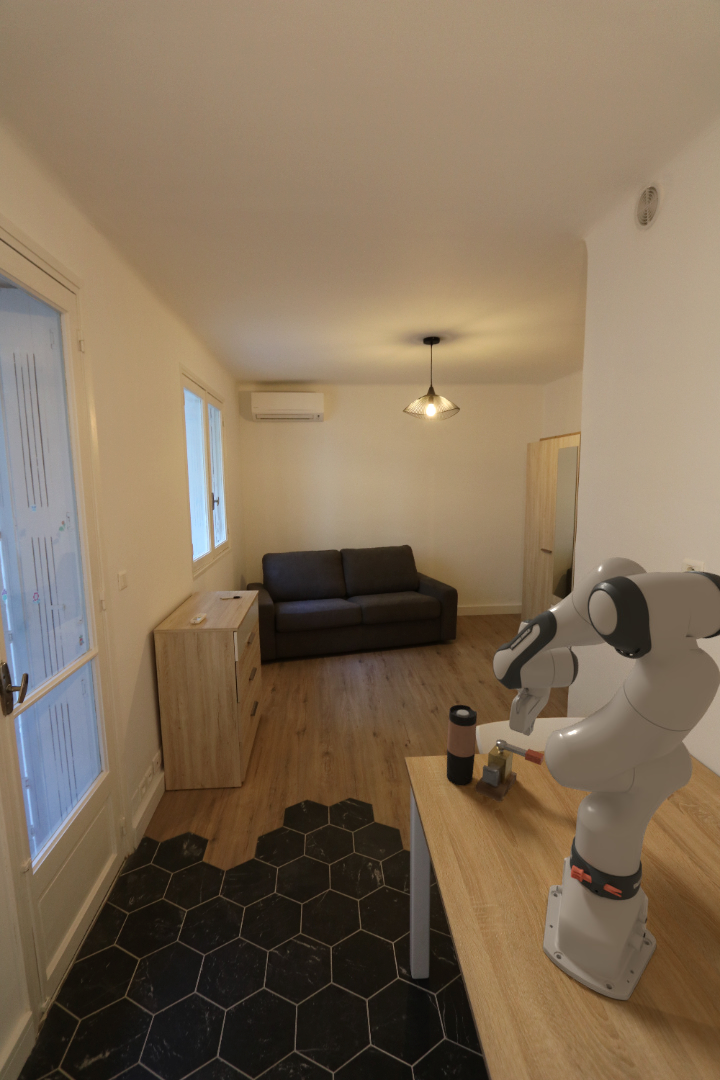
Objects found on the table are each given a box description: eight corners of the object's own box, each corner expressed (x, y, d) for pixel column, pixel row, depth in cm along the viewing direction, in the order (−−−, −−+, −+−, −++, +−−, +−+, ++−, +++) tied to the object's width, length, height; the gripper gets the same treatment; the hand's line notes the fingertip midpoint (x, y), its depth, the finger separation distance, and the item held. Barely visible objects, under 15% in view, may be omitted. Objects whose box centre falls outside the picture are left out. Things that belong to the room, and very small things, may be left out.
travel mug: (444, 783, 133) (447, 715, 130) (447, 767, 140) (450, 702, 137) (472, 788, 131) (476, 720, 128) (474, 772, 138) (478, 707, 135)
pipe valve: (497, 792, 126) (499, 764, 125) (479, 785, 129) (481, 757, 128) (512, 772, 135) (514, 746, 134) (495, 765, 138) (497, 740, 137)
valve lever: (494, 748, 132) (494, 742, 132) (498, 743, 134) (498, 737, 134) (540, 765, 125) (540, 758, 124) (543, 760, 127) (544, 754, 127)
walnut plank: (500, 802, 125) (500, 795, 125) (475, 791, 130) (475, 784, 129) (516, 779, 135) (516, 773, 135) (492, 770, 139) (492, 763, 139)
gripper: (531, 701, 109) (526, 756, 112) (556, 671, 126) (552, 720, 128) (504, 692, 113) (500, 746, 115) (532, 665, 129) (528, 713, 132)
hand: (527, 732), depth 122 cm, fingers closed
